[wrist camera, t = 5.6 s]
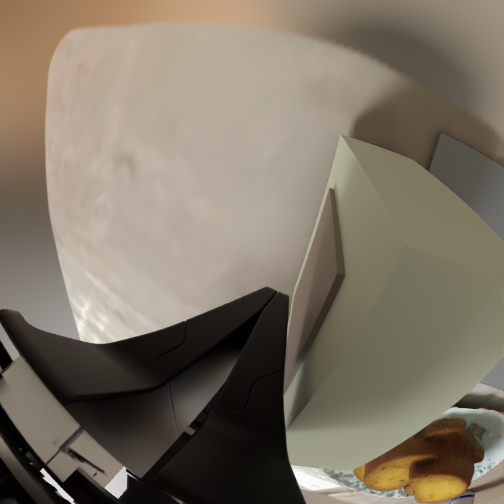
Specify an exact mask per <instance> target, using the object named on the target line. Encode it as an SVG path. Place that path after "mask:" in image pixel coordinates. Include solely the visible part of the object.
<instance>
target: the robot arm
mask: <svg viewBox="0 0 504 504" xmlns="http://www.w3.org/2000/svg"><path fill="white" fill-rule="evenodd" d="M288 311H289V296H288V295H286V294H283V293H281V292H277V291H276V290H274V289H272V288H269V287H264V288H262V289H260V290H257V291H255V292H253V293H250V294H248V295H246V296H243V297H241V298H239V299H236V300H234V301H232V302H229V303H227V304H224V305H222V306H220V307H217V308H215V309H212V310H210V311H208V312H205V313H203V314H200V315H198V316H195V317H193V318H190V319H188V320H186V321H183V322H180V323H178V324H175V325H173V326H170V327H167V328H164V329H161V330H158V331H155V332H151V333H148V334H144V335H140V336H137V337H133V338H129V339H125V340H121V341H117V342H112V343H106V344H93V343H88V342H84V341H79V340H75V339H72V338H68V337H64V336H60V335H56V334H53V333H49V332H46V331H43V330H40V329H37V328H35V327H33V326H32V325H30V324H29V323H27V321H26V320H25V319H24V318H23V316H22V315H21V314H20V313H19V312H18V311H13V310H8V309H1V310H0V323H1V325H2V327H3V328H4V330H5V332H6V333H7V335H8V337H9V338H10V340H11V341H12V343H13V345H14V346H15V348H16V349H17V351H18V352H19V354H20V356H18V357H17V358H16V359H15V360H14V361H13V360H12V358H11V356H10V355H9V353H8V352H7V350H6V348H5V347H4V345H3V344H2V342H1V340H0V504H71V503H70V502H69V501H68V500H66V499H64V498H63V497H62V496H61V495H60V494H59V493H58V492H57V489H56V488H55V487H54V486H52V485H51V484H49V483H48V482H46V481H45V480H44V479H43V478H44V477H45V476H44V475H43V474H42V473H41V472H40V470H41V469H42V468H44V469H45V470H46V472H47V473H48V474H49V475H50V476H51V477H52V478H53V479H54V480H55V481H56V482H57V483H58V485H59V486H60V487H61V488H62V489H63V490H64V491H66V493H67V494H68V495H69V496H71V497H72V498H73V499H74V501H73V502H74V503H75V504H306V502H305V500H304V497H303V495H302V492H301V490H300V487H299V485H298V483H297V480H296V478H295V475H294V473H293V470H292V468H291V465H290V461H289V457H288V451H287V441H286V427H285V414H284V376H285V372H284V371H285V361H286V346H287V329H288ZM123 466H124V467H126V473H128V474H127V489H126V491H125V492H124V493H123V494H122V495H121V496H120V498H119V499H117V498H116V497H115V496H113V495H112V494H111V493H109V492H108V491H107V490H106V489H105V488H104V487H105V486H106V485H107V484H108V483H109V482H110V481H111V479H112V478H113V477H114V476H115V475H116V474H117V473H118V472H119V471H120V470H121V469H122V467H123Z"/></svg>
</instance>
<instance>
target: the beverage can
mask: <svg viewBox="0 0 504 504" xmlns="http://www.w3.org/2000/svg"><path fill="white" fill-rule="evenodd" d="M474 498H475V493H473V492H472V491H465V492H463V493H462V494H460V495H459V496H457V497H455V498H452V499H450V503H449V504H474Z"/></svg>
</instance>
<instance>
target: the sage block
mask: <svg viewBox="0 0 504 504" xmlns="http://www.w3.org/2000/svg"><path fill="white" fill-rule="evenodd" d="M503 357H504V241H503V240H502V239H501V238H500V237H499V236H498V235H497V234H496V233H495V232H494V231H493V229H492V228H491V227H490V226H489V225H488V224H487V223H486V222H485V221H484V220H483V219H482V218H481V217H480V216H479V215H478V214H477V213H476V212H475V211H473V210H472V209H471V208H470V207H469V206H468V205H467V204H466V203H465V202H464V201H463V200H462V199H461V198H459V197H458V196H457V195H456V194H455V193H454V192H453V191H451V190H450V189H449V188H448V187H447V186H446V185H444V184H443V183H442V182H441V181H440V180H438V179H437V178H436V177H435V176H433V175H432V174H431V173H430V172H428V171H427V170H426V169H424V168H423V167H422V166H421V165H419V164H418V163H417V162H415V161H414V160H413V159H410V158H408V157H405V156H403V155H400V154H398V153H395V152H392V151H389V150H387V149H384V148H381V147H378V146H375V145H373V144H370V143H367V142H364V141H360V140H357V139H354V138H351V137H348V136H344V135H341V134H340V138H339V142H338V146H337V150H336V153H335V157H334V161H333V164H332V168H331V172H330V175H329V179H328V182H327V186H326V189H325V193H324V196H323V200H322V203H321V207H320V210H319V213H318V217H317V220H316V223H315V226H314V230H313V233H312V236H311V239H310V242H309V246H308V249H307V252H306V255H305V258H304V261H303V264H302V267H301V270H300V273H299V276H298V279H297V282H296V285H295V288H294V292H293V298H292V304H291V310H290V316H289V322H288V329H287V346H286V361H285V371H284V372H285V376H284V414H285V427H286V441H287V451H288V457H289V461H290V464H291V465H298V466H305V467H313V468H323V469H336V470H354V469H356V468H358V467H360V466H362V465H364V464H366V463H368V462H370V461H371V460H373V459H375V458H377V457H379V456H380V455H382V454H384V453H386V452H387V451H389V450H391V449H392V448H394V447H396V446H397V445H399V444H401V443H402V442H404V441H405V440H407V439H408V438H410V437H411V436H413V435H414V434H416V433H417V432H419V431H420V430H422V429H423V428H424V427H426V426H427V425H429V424H430V423H431V422H433V421H434V420H435V419H437V418H438V417H439V416H441V415H442V414H443V413H444V412H446V411H447V410H448V409H449V408H451V407H452V406H453V405H454V404H455V403H457V402H458V401H459V400H460V399H461V398H462V397H464V396H465V395H466V394H467V393H468V392H469V391H470V390H471V389H473V388H474V387H475V386H476V385H477V384H478V383H479V382H480V381H481V380H482V379H483V378H484V377H485V376H486V375H487V374H488V373H489V372H490V371H491V370H492V369H493V368H494V367H495V366H496V365H497V364H498V363H499V362H500V360H501V359H502V358H503Z"/></svg>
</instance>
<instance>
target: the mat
mask: <svg viewBox="0 0 504 504" xmlns="http://www.w3.org/2000/svg"><path fill="white" fill-rule="evenodd" d="M428 172H430V173H431V174H432V175H433V176H435V177H436V178H437V179H438V180H440V181H441V182H442V183H443V184H444V185H446V186H447V187H448V188H449V189H450V190H451V191H453V192H454V193H455V194H456V195H457V196H458V197H459V198H461V199H462V200H463V201H464V202H465V203H466V204H467V205H468V206H469V207H470V208H471V209H472V210H473V211H475V212H476V213H477V214H478V215H479V216H480V217H481V218H482V219H483V220H484V221H485V222H486V223H487V224H488V225H489V226H490V227H491V228H492V229H493V231H494V232H495V233H496V234H497V235H498V236H499V237H500V238H501V239H502V240H503V241H504V167H503V166H501V165H500V164H498V163H496V162H495V161H493V160H492V159H490V158H488V157H487V156H485V155H483V154H482V153H480V152H478V151H476V150H474V149H473V148H471V147H469V146H467V145H465V144H463V143H462V142H460V141H458V140H456V139H454V138H452V137H450V136H448V135H446V134H444V133H442V132H440V134H439V138H438V141H437V144H436V148H435V151H434V154H433V157H432V160H431V163H430V166H429V169H428ZM479 383H482V384H485V385H488V386H491V387H494V388H497V389H500V390H503V391H504V357H503V358H502V359H501V360H500V362H499V363H498V364H497V365H496V366H495V367H494V368H493V369H492V370H491V371H490V372H489V373H488V374H487V375H486V376H485V377H484V378H483V379H482V380H481V381H480V382H479Z"/></svg>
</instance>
